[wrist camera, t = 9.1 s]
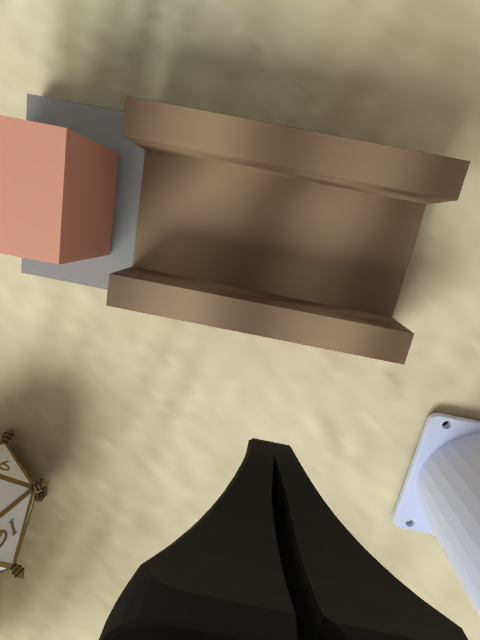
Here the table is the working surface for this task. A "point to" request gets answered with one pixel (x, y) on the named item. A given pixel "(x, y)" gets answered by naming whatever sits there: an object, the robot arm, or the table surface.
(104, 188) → the block
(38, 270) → the shelf
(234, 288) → the chute
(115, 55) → the table surface
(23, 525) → the game die
